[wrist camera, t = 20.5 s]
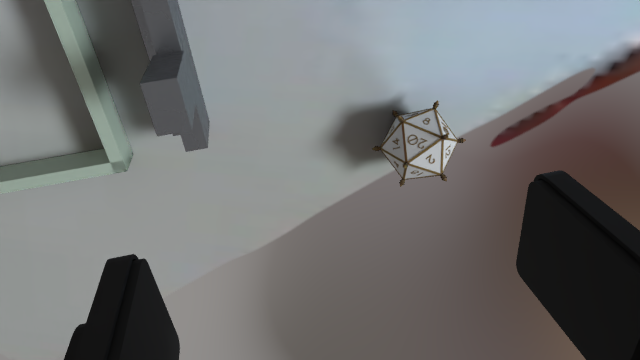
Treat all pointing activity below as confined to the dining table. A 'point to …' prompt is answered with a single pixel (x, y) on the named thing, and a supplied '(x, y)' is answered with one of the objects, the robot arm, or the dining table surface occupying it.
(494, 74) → the dining table surface
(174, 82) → the rake
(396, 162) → the game die
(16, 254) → the dining table surface
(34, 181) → the sage pen
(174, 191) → the dining table surface
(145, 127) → the dining table surface
